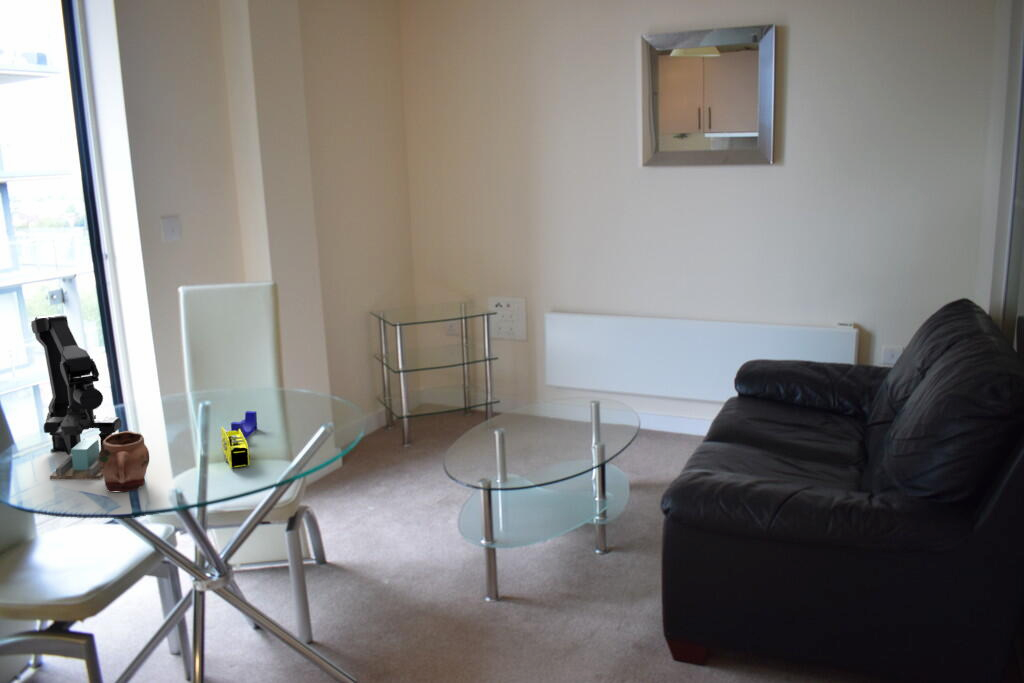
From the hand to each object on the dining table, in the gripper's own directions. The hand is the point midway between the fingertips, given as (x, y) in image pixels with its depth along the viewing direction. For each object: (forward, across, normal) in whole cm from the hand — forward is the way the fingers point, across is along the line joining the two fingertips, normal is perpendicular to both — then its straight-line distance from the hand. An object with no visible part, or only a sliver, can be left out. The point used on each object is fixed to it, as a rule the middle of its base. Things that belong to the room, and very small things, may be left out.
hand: (85, 454), depth 240 cm
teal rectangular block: (+3, 0, 0) cm, 3 cm away
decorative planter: (+4, +16, -14) cm, 21 cm away
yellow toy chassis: (+4, +39, +7) cm, 39 cm away
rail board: (+4, 0, 0) cm, 4 cm away
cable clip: (+4, +36, +27) cm, 45 cm away
